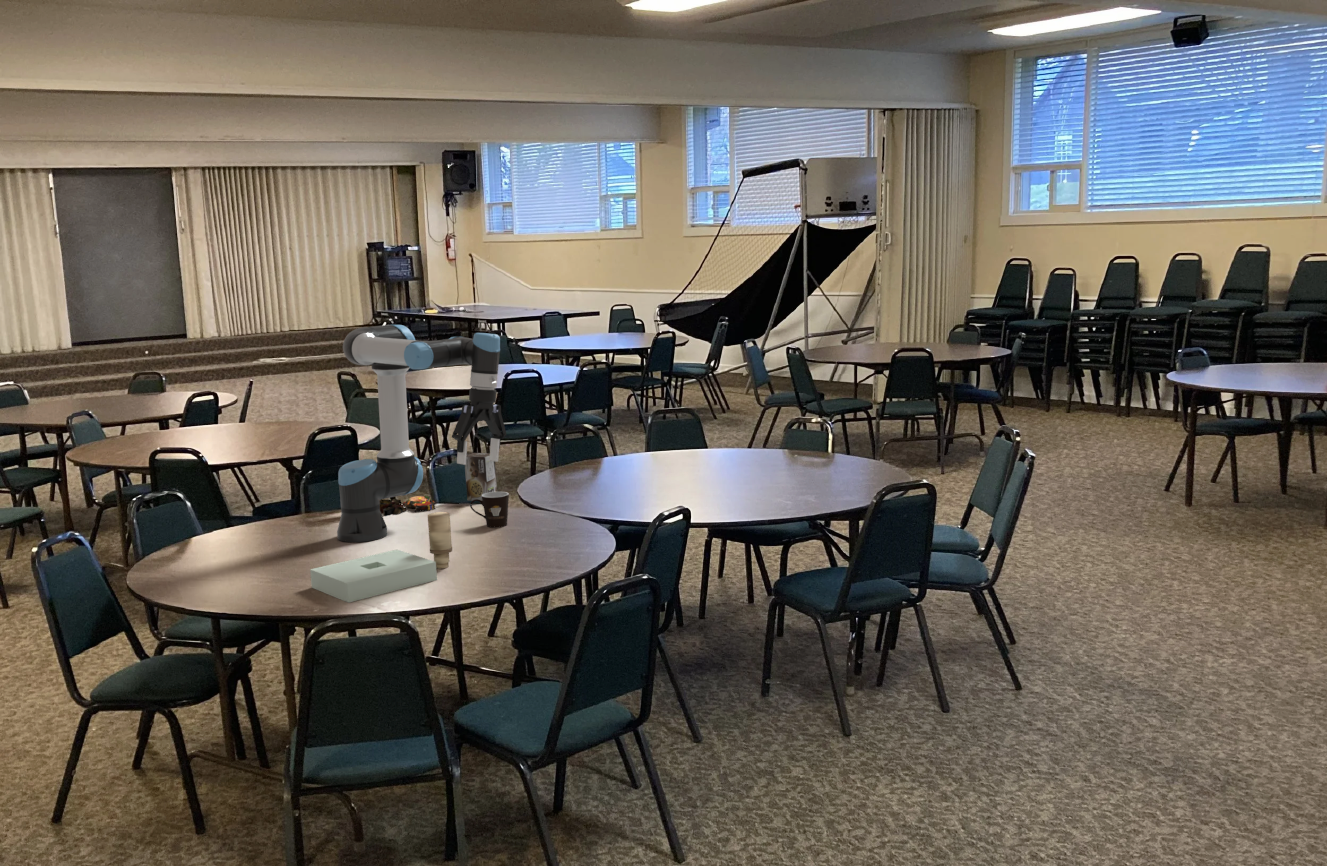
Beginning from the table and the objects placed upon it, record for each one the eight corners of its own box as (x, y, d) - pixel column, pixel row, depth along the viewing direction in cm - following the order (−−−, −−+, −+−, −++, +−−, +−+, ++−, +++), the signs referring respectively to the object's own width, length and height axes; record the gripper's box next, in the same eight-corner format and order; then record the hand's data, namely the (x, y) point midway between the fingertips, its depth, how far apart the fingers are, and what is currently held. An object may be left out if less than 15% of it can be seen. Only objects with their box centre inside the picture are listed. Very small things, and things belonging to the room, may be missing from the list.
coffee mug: (515, 522, 372) (513, 492, 370) (503, 529, 364) (501, 498, 362) (482, 521, 375) (481, 490, 374) (470, 527, 367) (468, 496, 366)
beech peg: (426, 567, 322) (423, 514, 320) (445, 562, 327) (442, 510, 324) (438, 571, 318) (435, 518, 316) (457, 566, 322) (454, 514, 320)
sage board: (311, 587, 307) (310, 569, 306) (398, 566, 324) (396, 549, 323) (348, 602, 292) (347, 583, 291) (437, 579, 310) (435, 561, 309)
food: (377, 519, 386) (377, 508, 385) (368, 509, 403) (367, 499, 402) (443, 511, 395) (442, 500, 394) (431, 501, 412) (430, 491, 411)
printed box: (498, 498, 409) (495, 453, 407) (488, 502, 403) (485, 456, 401) (476, 496, 413) (473, 452, 411) (466, 500, 407) (463, 455, 405)
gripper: (462, 390, 314) (457, 467, 317) (522, 389, 335) (516, 461, 337) (442, 386, 318) (437, 463, 321) (502, 386, 339) (496, 457, 341)
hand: (477, 462), depth 329 cm, fingers open, 13 cm apart
